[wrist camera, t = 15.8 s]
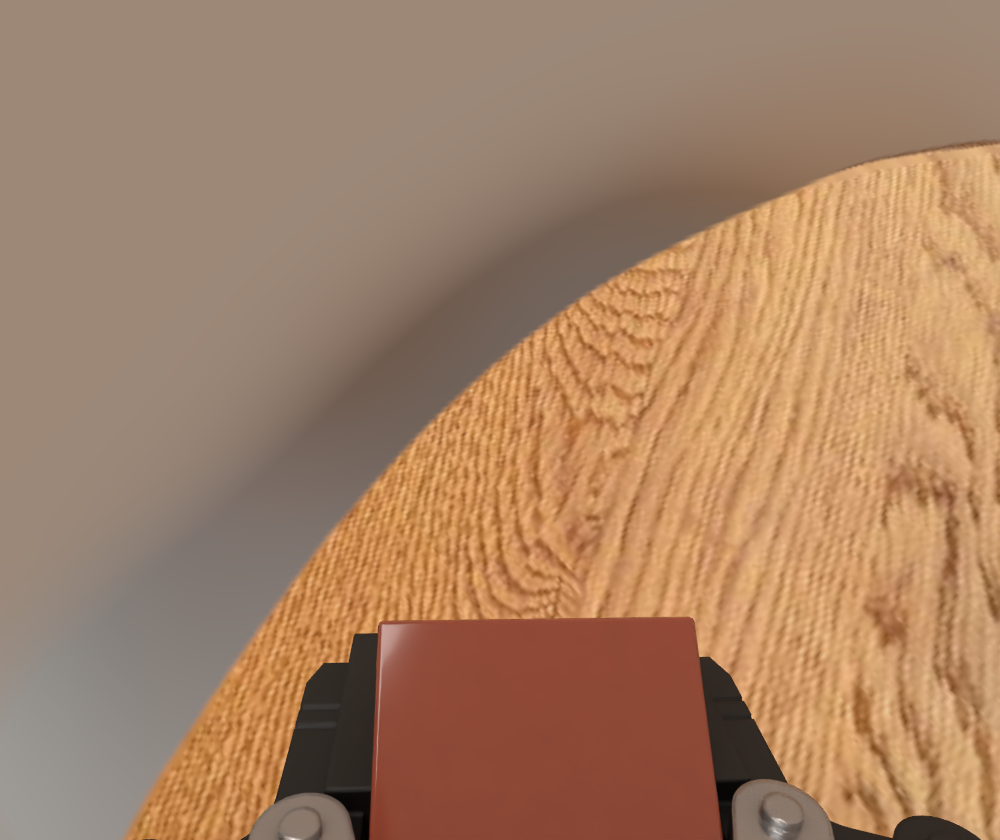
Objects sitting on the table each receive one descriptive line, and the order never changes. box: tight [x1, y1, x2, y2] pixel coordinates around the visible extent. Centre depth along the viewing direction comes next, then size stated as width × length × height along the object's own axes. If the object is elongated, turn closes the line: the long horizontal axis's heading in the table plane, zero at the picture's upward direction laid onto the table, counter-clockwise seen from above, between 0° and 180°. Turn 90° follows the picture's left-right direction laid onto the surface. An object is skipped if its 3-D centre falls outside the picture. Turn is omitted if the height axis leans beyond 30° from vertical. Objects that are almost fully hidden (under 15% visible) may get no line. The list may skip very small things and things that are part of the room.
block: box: [369, 617, 723, 840], centre depth 13 cm, size 4×4×8 cm
